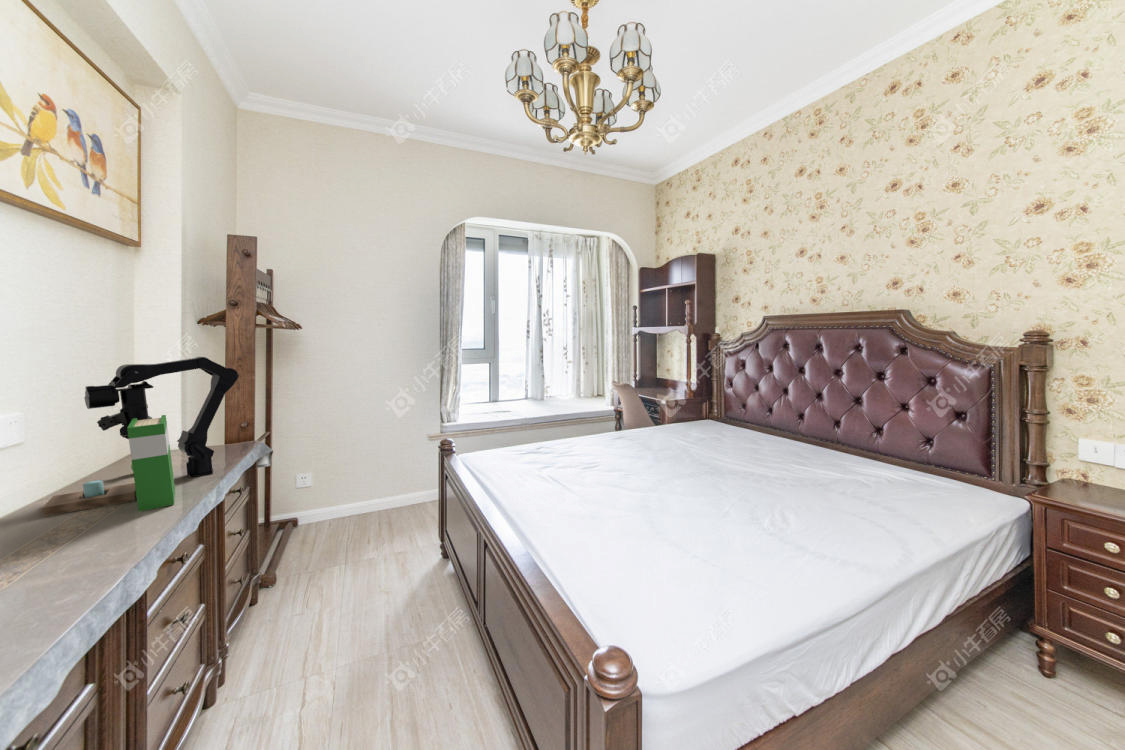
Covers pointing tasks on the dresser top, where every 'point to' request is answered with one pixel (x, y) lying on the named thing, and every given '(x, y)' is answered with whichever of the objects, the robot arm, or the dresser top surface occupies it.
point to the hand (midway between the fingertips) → (140, 451)
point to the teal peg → (93, 488)
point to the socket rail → (89, 500)
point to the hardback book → (151, 463)
